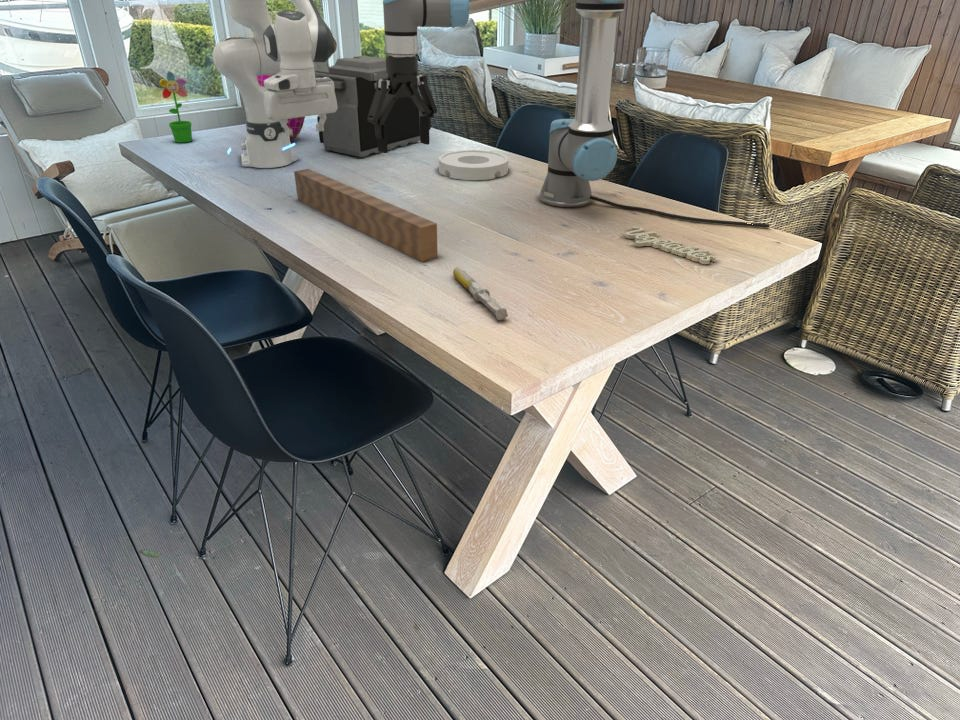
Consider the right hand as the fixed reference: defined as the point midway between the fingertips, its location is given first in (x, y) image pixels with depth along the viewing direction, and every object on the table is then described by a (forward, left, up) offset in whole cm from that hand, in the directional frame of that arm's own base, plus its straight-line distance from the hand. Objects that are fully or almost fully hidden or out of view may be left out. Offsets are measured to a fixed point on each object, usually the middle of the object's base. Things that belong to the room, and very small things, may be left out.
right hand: (404, 147), depth 171 cm
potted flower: (+125, -45, -21) cm, 134 cm away
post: (+12, +4, -21) cm, 24 cm away
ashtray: (+9, -58, -21) cm, 62 cm away
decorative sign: (-64, -16, -21) cm, 70 cm away
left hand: (+35, -6, -1) cm, 36 cm away
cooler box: (+58, -71, -21) cm, 94 cm away
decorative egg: (+92, -64, -21) cm, 114 cm away
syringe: (-35, +30, -21) cm, 51 cm away
